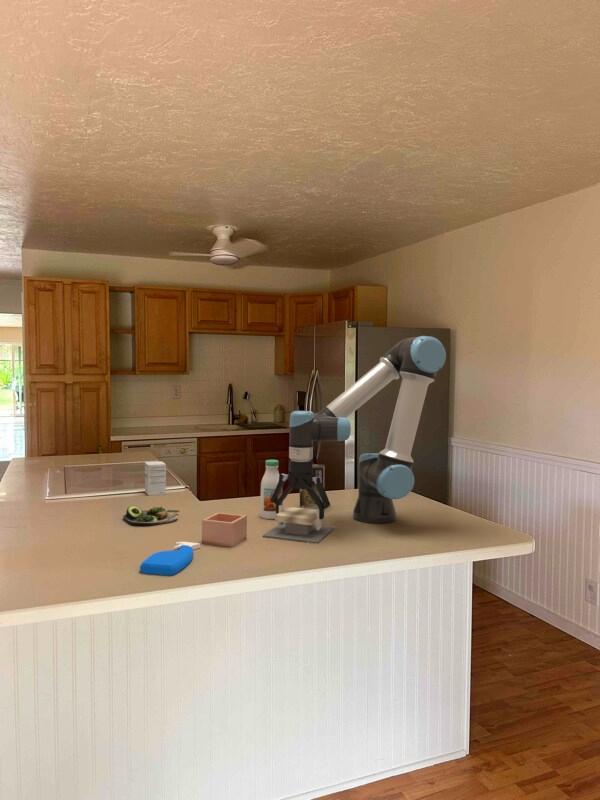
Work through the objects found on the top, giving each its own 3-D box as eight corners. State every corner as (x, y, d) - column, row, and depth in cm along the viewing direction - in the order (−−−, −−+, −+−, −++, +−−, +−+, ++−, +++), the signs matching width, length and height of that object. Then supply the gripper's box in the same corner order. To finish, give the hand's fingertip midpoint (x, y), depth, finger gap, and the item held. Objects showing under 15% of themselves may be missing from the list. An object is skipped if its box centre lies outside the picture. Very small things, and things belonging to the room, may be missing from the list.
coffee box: (324, 506, 228) (325, 464, 227) (323, 510, 222) (324, 467, 221) (300, 505, 229) (301, 463, 228) (298, 509, 223) (299, 466, 222)
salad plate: (170, 510, 219) (170, 498, 219) (190, 521, 204) (190, 508, 204) (117, 517, 209) (117, 504, 208) (134, 529, 194) (134, 515, 193)
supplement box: (144, 492, 248) (144, 461, 247) (162, 490, 251) (162, 460, 250) (147, 495, 241) (147, 464, 240) (166, 494, 244) (166, 463, 244)
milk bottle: (256, 517, 210) (256, 460, 209) (267, 513, 217) (268, 458, 216) (275, 520, 206) (276, 462, 205) (286, 515, 213) (287, 459, 212)
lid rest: (334, 528, 197) (334, 515, 197) (317, 543, 180) (317, 529, 180) (283, 522, 203) (283, 509, 203) (262, 537, 187) (262, 522, 186)
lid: (323, 516, 195) (323, 510, 195) (311, 525, 184) (311, 519, 184) (288, 512, 199) (289, 506, 199) (275, 521, 188) (275, 515, 188)
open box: (246, 538, 185) (246, 515, 185) (232, 547, 176) (232, 523, 175) (217, 534, 188) (217, 512, 188) (201, 543, 179) (202, 519, 179)
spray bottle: (176, 566, 151) (208, 540, 175) (135, 563, 153) (173, 537, 177) (176, 578, 151) (208, 550, 175) (135, 574, 153) (172, 547, 177)
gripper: (260, 458, 191) (260, 525, 192) (334, 464, 183) (332, 534, 184) (270, 455, 198) (269, 520, 199) (340, 460, 190) (339, 528, 191)
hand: (299, 527), depth 192 cm, fingers closed on lid, 12 cm apart
